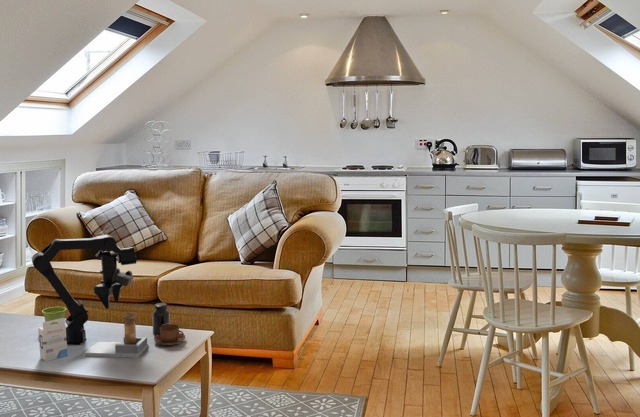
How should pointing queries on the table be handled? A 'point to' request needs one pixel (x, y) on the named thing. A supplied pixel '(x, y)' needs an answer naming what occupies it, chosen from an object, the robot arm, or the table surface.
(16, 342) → the table surface
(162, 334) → the cup and saucer
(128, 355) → the board
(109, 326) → the table surface
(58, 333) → the ink box
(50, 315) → the plant pot
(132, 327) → the bobbin
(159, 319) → the supplement bottle
